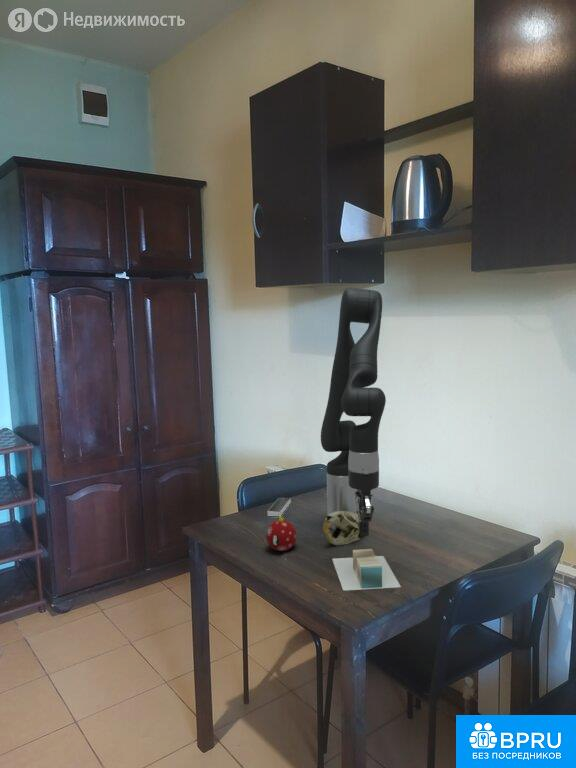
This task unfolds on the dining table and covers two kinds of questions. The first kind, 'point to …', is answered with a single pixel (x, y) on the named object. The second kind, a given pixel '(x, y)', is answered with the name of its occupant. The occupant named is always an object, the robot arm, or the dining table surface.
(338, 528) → the skull
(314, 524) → the dining table surface
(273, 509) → the multiport hub
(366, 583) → the tall block
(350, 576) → the mat
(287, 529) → the christmas ornament
